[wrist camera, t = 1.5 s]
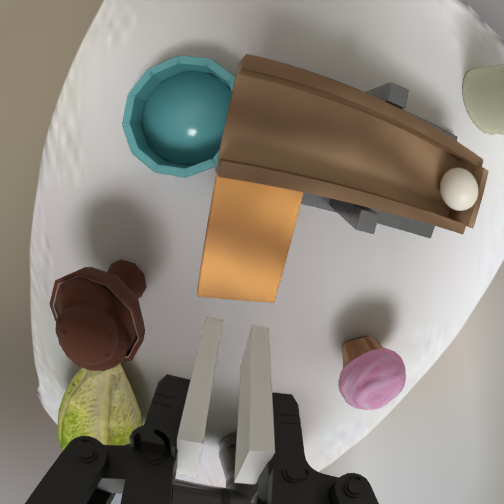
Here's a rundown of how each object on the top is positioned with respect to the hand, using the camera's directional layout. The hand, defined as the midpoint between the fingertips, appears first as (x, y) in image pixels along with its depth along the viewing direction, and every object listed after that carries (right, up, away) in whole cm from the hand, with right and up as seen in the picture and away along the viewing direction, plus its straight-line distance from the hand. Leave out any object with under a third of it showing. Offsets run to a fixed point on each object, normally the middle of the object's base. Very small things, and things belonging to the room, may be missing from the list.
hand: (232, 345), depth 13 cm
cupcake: (+16, -9, +24) cm, 30 cm away
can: (+31, +24, +11) cm, 41 cm away
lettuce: (-23, -20, +29) cm, 42 cm away
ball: (+20, +10, +8) cm, 24 cm away
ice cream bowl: (-15, +1, +21) cm, 26 cm away
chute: (+9, +9, +12) cm, 18 cm away
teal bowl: (-5, +18, +14) cm, 24 cm away
